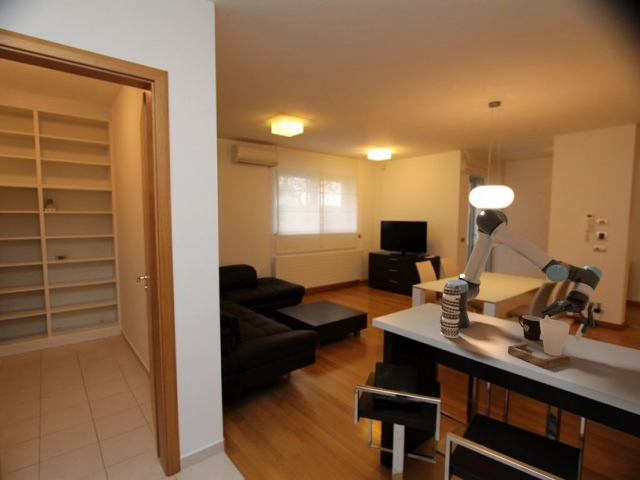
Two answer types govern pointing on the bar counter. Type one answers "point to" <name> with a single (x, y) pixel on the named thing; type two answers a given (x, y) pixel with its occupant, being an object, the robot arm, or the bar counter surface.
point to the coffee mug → (531, 327)
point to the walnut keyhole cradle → (545, 363)
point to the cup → (554, 335)
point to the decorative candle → (450, 311)
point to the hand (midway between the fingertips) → (558, 333)
